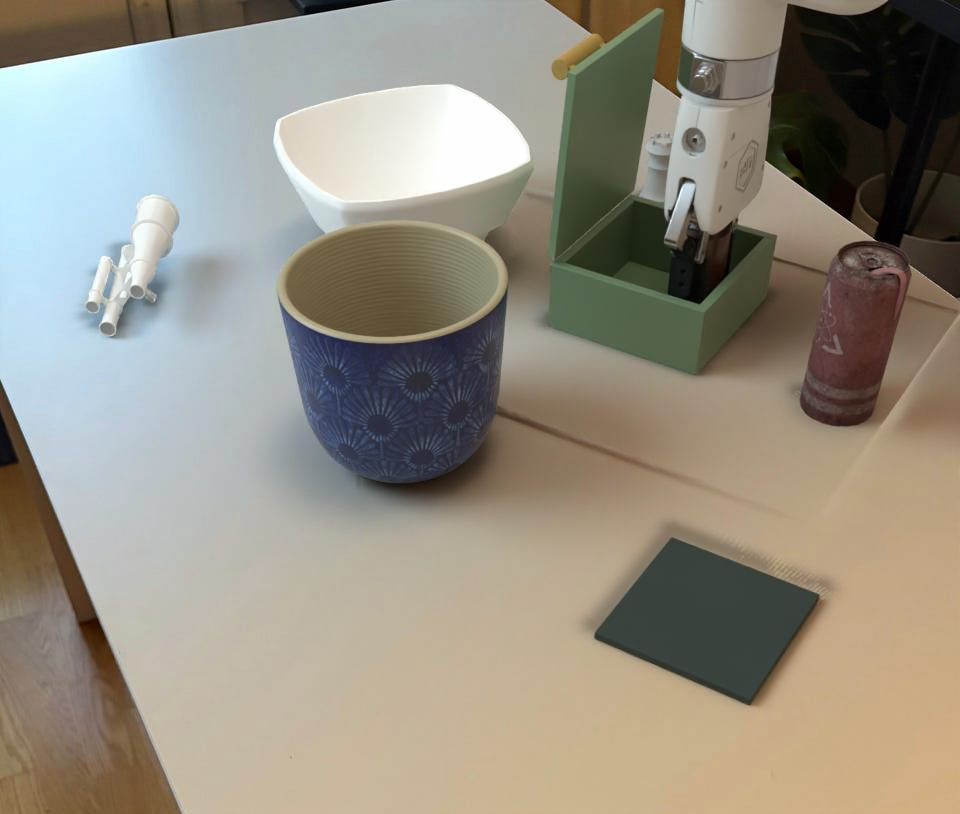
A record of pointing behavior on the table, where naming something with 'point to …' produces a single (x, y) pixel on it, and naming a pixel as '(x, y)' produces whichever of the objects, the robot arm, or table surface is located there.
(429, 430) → the planter
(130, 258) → the white plastic piece
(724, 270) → the brown cylinder
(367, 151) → the bowl
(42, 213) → the table surface
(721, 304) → the box
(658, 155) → the rook chess piece
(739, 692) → the mat
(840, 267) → the can
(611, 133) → the lid
